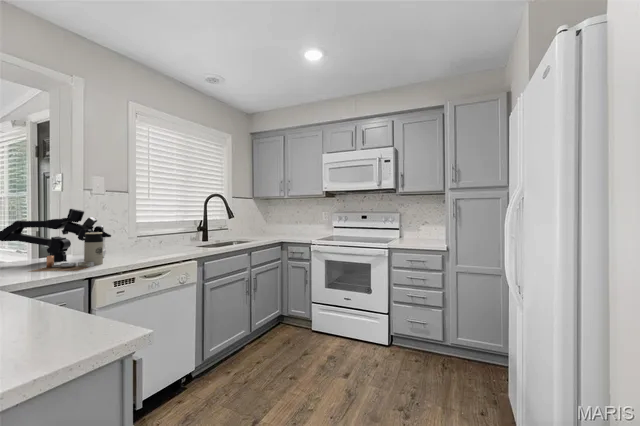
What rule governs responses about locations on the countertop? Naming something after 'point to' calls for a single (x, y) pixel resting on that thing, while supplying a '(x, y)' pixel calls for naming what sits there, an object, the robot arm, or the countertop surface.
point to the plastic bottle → (103, 246)
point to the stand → (80, 267)
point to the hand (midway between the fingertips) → (107, 237)
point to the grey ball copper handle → (63, 265)
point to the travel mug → (93, 248)
